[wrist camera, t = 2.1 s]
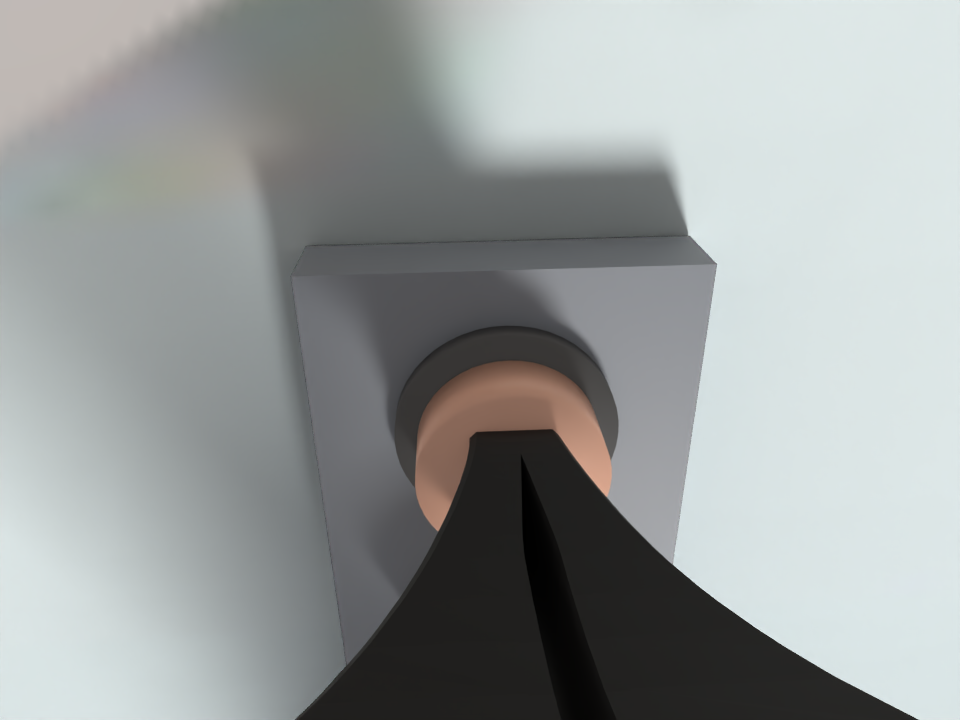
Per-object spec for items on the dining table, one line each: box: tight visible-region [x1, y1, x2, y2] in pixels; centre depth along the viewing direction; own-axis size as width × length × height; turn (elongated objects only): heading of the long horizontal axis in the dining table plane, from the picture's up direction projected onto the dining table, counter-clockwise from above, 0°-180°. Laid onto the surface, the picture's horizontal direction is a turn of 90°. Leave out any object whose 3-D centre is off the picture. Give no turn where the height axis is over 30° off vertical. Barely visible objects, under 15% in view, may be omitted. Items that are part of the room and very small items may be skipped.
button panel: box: [291, 236, 717, 666], centre depth 16 cm, size 16×7×2 cm, turn 1°
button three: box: [415, 360, 612, 531], centre depth 12 cm, size 3×3×1 cm
